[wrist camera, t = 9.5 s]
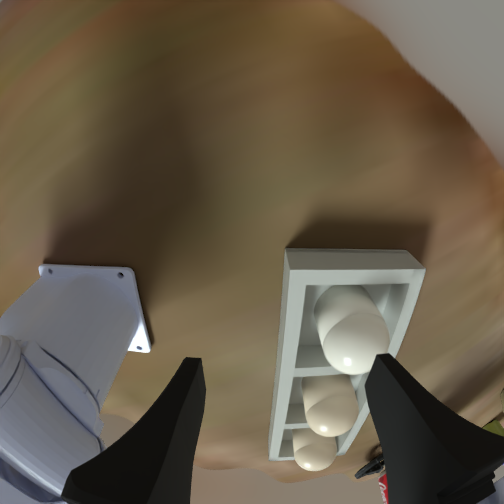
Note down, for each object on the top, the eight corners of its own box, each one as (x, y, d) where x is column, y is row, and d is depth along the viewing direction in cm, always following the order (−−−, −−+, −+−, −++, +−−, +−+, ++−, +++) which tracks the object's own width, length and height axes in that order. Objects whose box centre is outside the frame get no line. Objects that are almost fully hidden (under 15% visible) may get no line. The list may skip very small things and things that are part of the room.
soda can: (374, 472, 37) (386, 528, 25) (410, 457, 35) (427, 512, 24) (380, 479, 39) (391, 529, 28) (412, 465, 38) (427, 515, 26)
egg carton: (268, 440, 29) (269, 485, 23) (285, 248, 19) (297, 304, 13) (340, 435, 29) (349, 477, 23) (406, 249, 19) (452, 297, 13)
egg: (310, 332, 21) (323, 391, 16) (317, 282, 19) (337, 339, 14) (363, 330, 21) (387, 384, 16) (376, 281, 19) (409, 333, 14)
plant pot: (476, 440, 38) (488, 467, 30) (461, 441, 36) (474, 471, 28) (506, 414, 34) (520, 441, 27) (495, 412, 33) (511, 443, 25)
